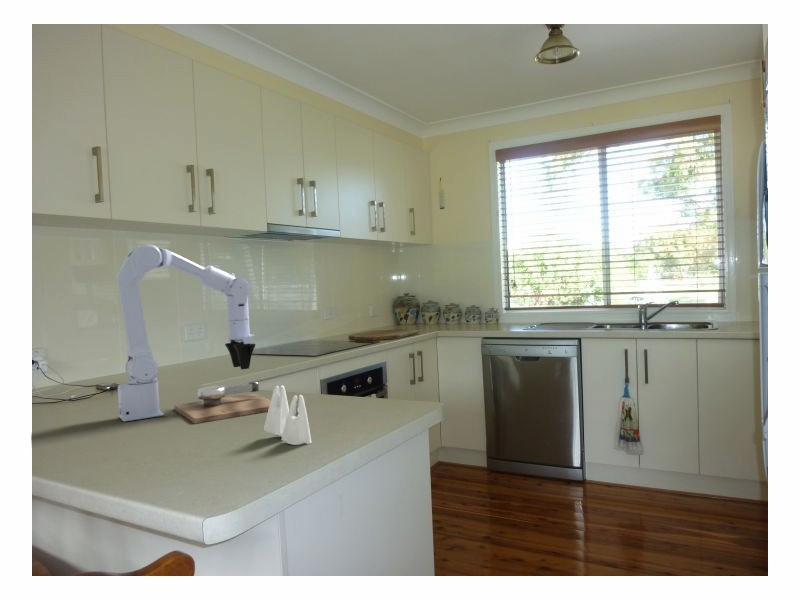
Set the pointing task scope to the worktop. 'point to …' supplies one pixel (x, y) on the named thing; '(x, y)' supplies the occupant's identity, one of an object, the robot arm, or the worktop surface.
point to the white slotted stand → (288, 418)
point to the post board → (223, 408)
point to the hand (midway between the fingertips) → (241, 367)
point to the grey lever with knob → (226, 390)
